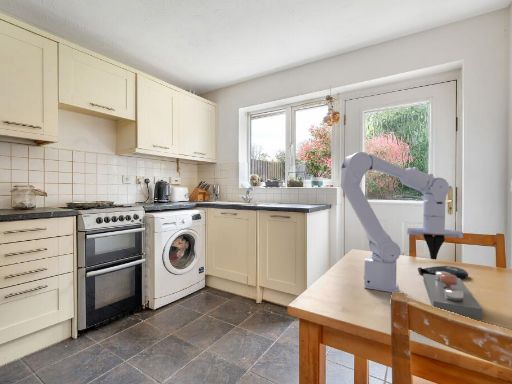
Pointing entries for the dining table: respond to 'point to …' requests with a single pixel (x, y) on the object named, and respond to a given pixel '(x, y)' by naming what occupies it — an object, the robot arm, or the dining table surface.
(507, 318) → the dining table surface
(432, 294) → the knob mount
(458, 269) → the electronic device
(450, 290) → the near knob
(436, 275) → the far knob
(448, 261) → the dining table surface
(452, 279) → the middle knob
